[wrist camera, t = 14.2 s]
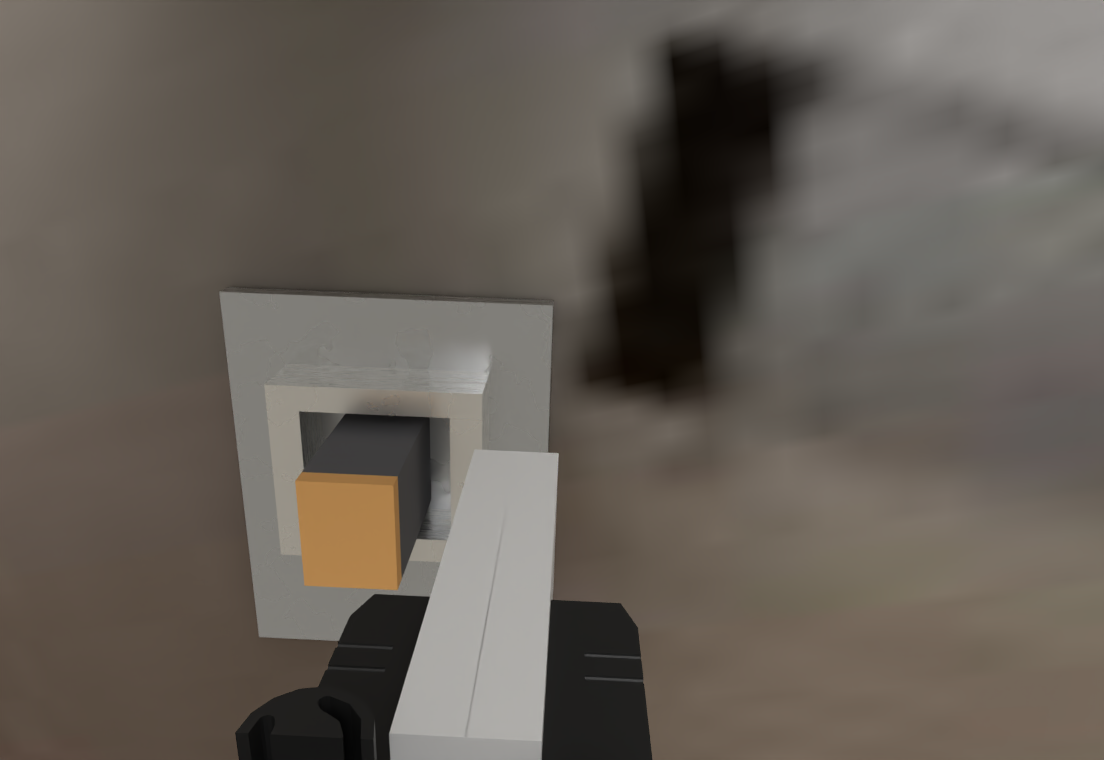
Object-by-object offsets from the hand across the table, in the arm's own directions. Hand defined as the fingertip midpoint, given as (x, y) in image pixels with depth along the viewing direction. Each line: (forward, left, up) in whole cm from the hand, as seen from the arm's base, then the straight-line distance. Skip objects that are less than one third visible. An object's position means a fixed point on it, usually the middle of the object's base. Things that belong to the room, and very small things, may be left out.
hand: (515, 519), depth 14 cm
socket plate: (+12, -8, -24) cm, 28 cm away
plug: (+10, -8, -23) cm, 27 cm away
